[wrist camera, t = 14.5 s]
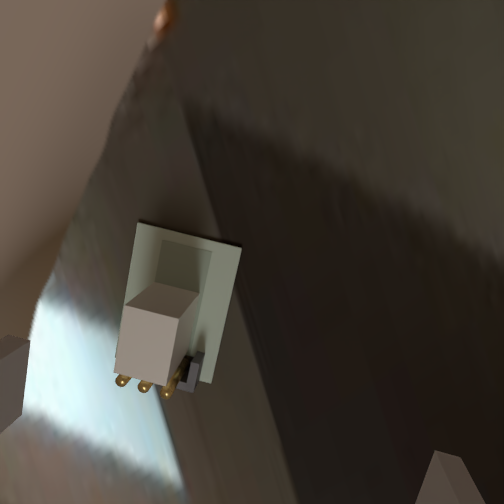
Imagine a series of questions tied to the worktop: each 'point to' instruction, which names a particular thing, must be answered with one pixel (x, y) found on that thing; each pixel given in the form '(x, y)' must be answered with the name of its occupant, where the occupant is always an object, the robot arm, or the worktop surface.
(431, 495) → the robot arm
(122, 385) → the header pins
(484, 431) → the worktop surface
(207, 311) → the board
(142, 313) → the plug housing
